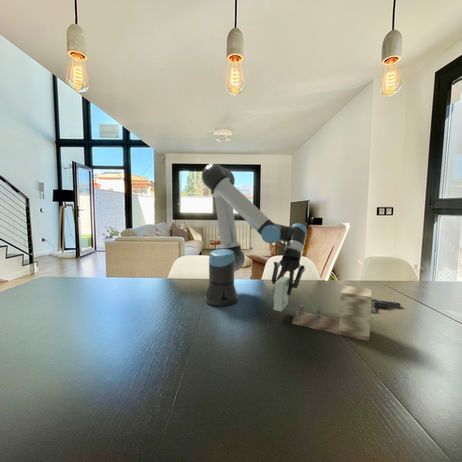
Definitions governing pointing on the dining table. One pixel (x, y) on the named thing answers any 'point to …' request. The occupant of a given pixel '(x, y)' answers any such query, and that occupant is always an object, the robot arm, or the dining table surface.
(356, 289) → the wooden rack
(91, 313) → the dining table surface
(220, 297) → the robot arm
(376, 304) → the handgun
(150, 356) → the dining table surface
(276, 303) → the pale green block
